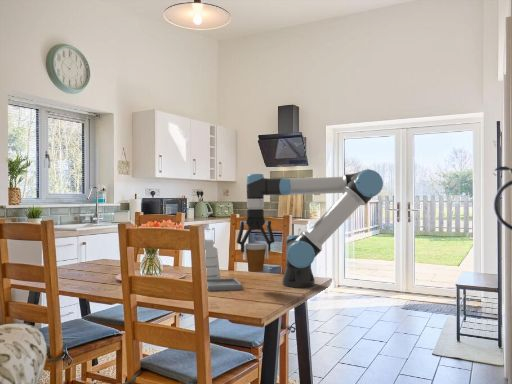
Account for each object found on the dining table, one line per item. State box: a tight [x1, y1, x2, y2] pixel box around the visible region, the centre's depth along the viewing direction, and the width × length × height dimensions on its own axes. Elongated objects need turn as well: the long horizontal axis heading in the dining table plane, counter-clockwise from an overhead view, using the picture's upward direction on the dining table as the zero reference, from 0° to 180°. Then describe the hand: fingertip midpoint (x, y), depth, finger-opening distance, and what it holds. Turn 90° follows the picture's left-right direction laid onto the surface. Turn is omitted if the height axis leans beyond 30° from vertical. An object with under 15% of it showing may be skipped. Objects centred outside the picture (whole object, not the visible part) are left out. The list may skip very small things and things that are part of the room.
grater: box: [204, 238, 221, 279], centre depth 217 cm, size 10×10×20 cm
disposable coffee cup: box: [245, 242, 266, 273], centre depth 195 cm, size 10×10×12 cm
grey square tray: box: [207, 277, 243, 292], centre depth 200 cm, size 15×15×2 cm
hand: (255, 259), depth 195 cm, fingers closed on disposable coffee cup, 9 cm apart
